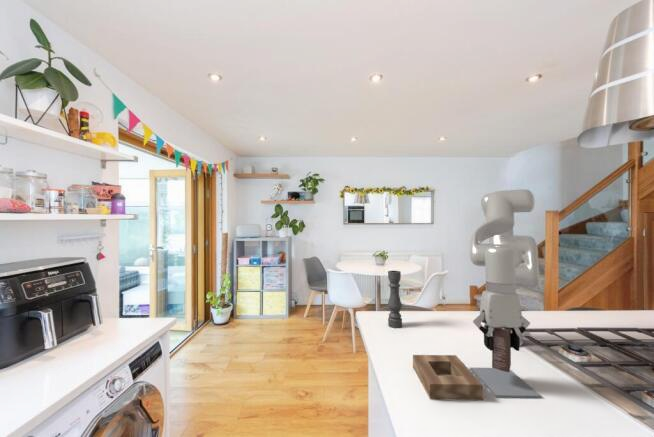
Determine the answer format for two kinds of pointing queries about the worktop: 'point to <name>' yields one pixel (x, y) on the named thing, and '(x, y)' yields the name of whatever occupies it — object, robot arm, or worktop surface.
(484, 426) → the worktop surface
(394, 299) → the candle holder
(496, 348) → the box
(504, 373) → the mat
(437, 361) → the pocket block
